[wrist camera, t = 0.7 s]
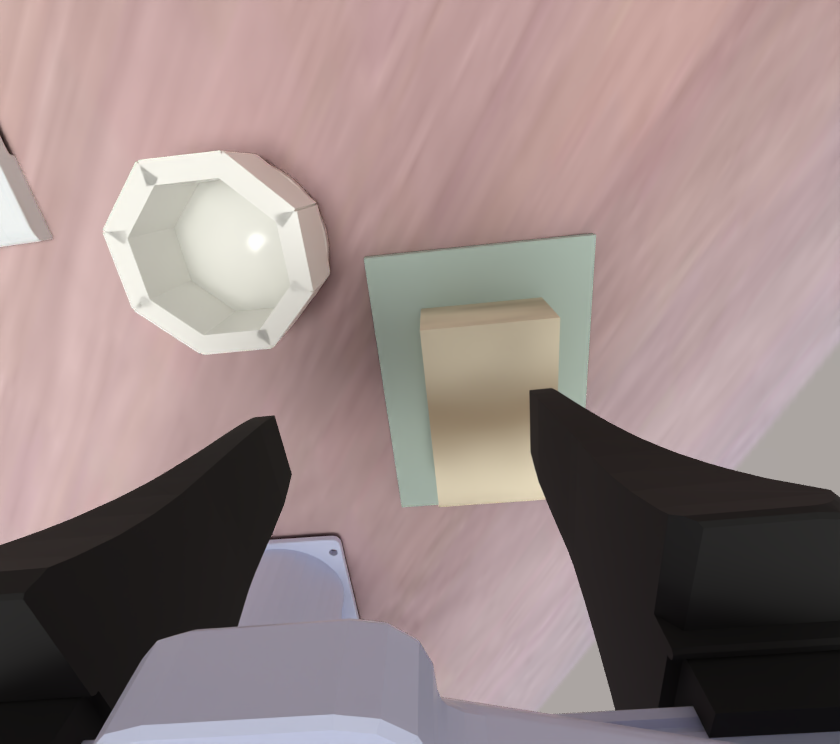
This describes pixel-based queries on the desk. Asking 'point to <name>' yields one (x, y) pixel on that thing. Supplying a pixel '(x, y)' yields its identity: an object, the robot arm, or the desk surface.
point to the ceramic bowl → (217, 249)
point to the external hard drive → (18, 205)
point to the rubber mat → (459, 285)
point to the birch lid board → (486, 395)
